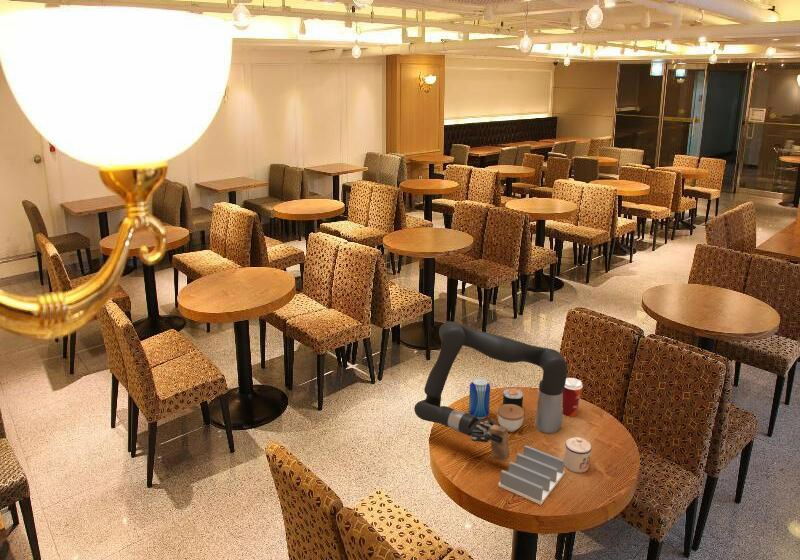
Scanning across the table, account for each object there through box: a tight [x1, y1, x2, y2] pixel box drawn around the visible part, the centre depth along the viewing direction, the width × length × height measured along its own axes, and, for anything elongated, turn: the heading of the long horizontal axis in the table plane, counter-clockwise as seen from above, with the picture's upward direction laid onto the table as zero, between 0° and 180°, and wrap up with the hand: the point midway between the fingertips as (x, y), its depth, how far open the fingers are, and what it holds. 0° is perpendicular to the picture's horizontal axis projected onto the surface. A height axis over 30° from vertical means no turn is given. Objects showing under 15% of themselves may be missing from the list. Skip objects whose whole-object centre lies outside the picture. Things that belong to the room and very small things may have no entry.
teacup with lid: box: [563, 436, 592, 474], centre depth 215 cm, size 12×9×12 cm
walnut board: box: [490, 424, 510, 462], centre depth 213 cm, size 6×3×12 cm, turn 52°
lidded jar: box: [496, 404, 525, 433], centre depth 238 cm, size 11×11×9 cm
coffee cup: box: [561, 377, 583, 418], centre depth 246 cm, size 8×8×15 cm
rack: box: [498, 445, 566, 506], centre depth 207 cm, size 16×20×6 cm
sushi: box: [502, 388, 524, 409], centre depth 252 cm, size 8×8×8 cm
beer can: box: [468, 377, 491, 420], centre depth 245 cm, size 8×8×16 cm
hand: (503, 438), depth 211 cm, fingers closed on walnut board, 2 cm apart
